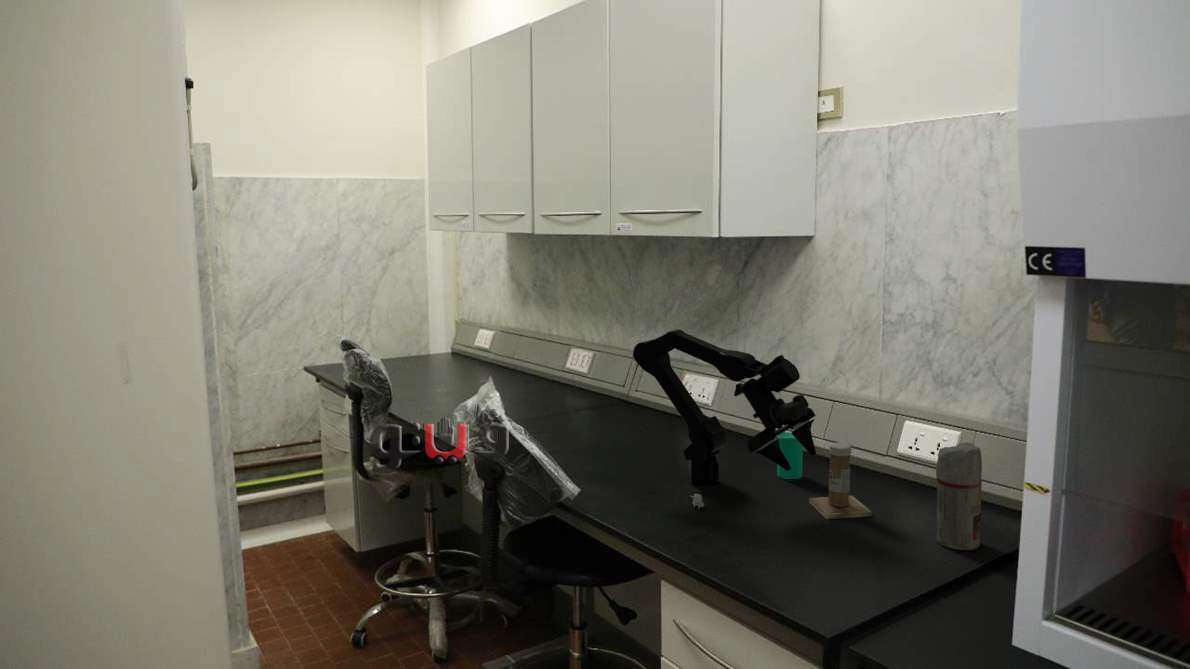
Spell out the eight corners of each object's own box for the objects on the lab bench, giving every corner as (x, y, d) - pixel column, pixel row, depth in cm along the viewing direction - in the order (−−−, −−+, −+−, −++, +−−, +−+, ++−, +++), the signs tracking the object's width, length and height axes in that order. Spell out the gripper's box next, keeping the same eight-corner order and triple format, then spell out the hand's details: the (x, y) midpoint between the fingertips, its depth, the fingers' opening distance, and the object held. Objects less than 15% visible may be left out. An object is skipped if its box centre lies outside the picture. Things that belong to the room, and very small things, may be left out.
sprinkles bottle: (823, 502, 178) (825, 443, 176) (840, 499, 180) (841, 440, 178) (837, 509, 174) (839, 449, 172) (854, 505, 176) (856, 446, 174)
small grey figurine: (704, 507, 180) (704, 494, 180) (700, 511, 178) (700, 498, 178) (692, 505, 182) (692, 492, 181) (687, 509, 180) (687, 496, 179)
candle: (802, 480, 196) (803, 433, 194) (777, 479, 197) (778, 432, 195) (801, 473, 201) (802, 426, 200) (776, 471, 203) (777, 425, 201)
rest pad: (826, 519, 171) (826, 514, 171) (809, 502, 181) (809, 497, 181) (871, 516, 172) (871, 511, 172) (851, 499, 182) (851, 495, 182)
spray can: (960, 555, 152) (966, 453, 149) (925, 540, 160) (929, 442, 156) (990, 546, 156) (996, 446, 153) (954, 532, 163) (959, 436, 160)
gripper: (758, 401, 172) (799, 464, 168) (810, 374, 183) (850, 433, 179) (729, 422, 181) (768, 483, 177) (781, 395, 192) (818, 452, 188)
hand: (802, 462), depth 180 cm, fingers open, 9 cm apart
